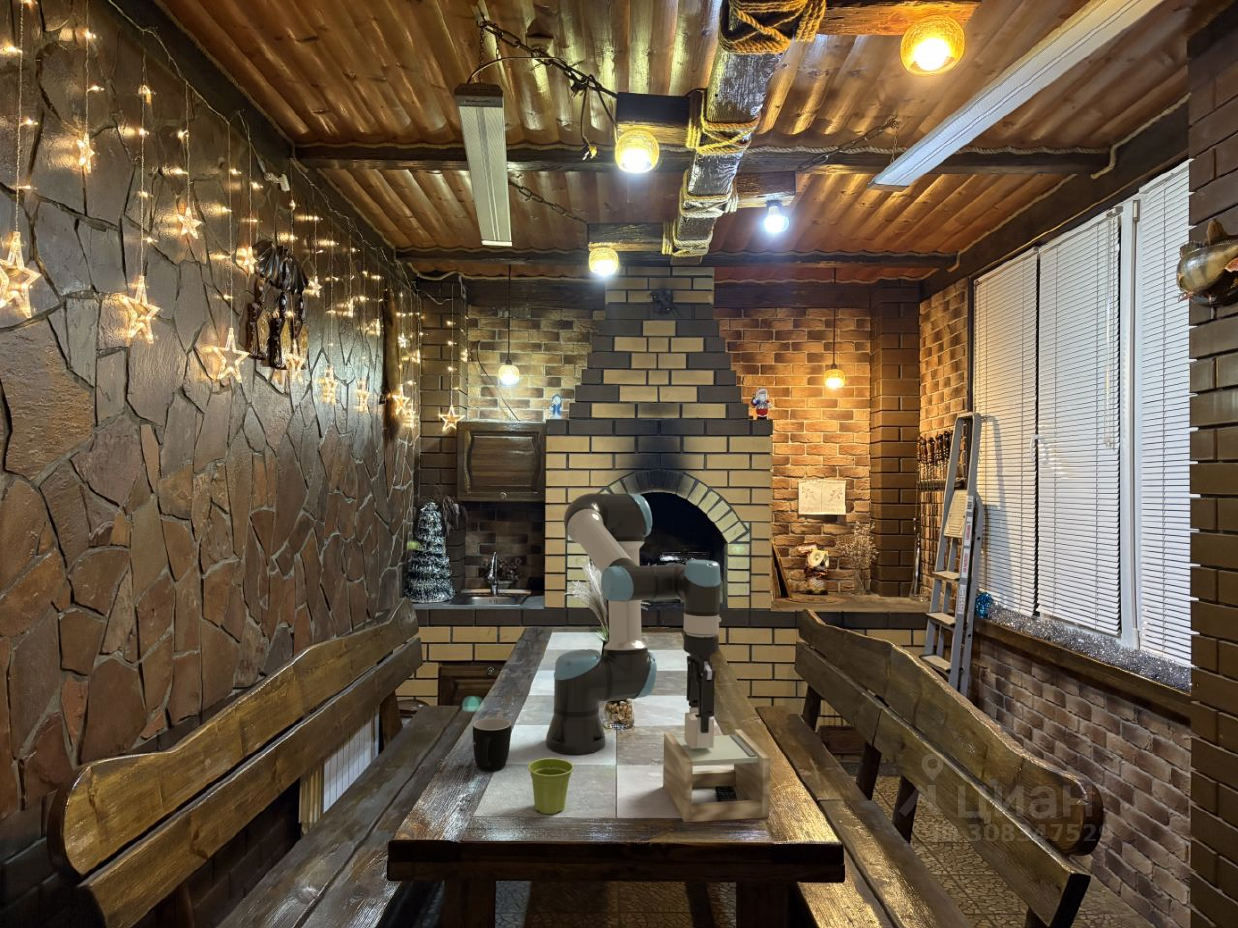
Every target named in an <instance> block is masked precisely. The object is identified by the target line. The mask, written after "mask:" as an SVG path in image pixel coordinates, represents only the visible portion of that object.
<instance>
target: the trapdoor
mask: <svg viewBox="0 0 1238 928" xmlns="http://www.w3.org/2000/svg"><path fill="white" fill-rule="evenodd" d="M675 739H676V740H677V741H678V743H679V744H680V746H681V747H682V748H683V750H684V751H685V752H686V754H687V755H688V756H689V758H690V759H691V760H692V762H693V767H697V766H716V765H717V766H718V765H719V766H720V765H732V764H733V765H734V764H737V763H755V762H757V761H758V757H757V756H756V755H755V754H754V753H753V752H752V751H751V750H750V749H749V748H748V747H747V746H746V745H745V744H744V743H743V742H742V741H741V740H740V739H739V738H738V737H737V736H736V735H735V733H734V734H728V735H725V734H724V735H714V748H697V749H690V747H689V746H688V745H687V743H686V742H685V741H684V736H683V737H675Z"/></svg>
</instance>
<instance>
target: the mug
mask: <svg viewBox="0 0 1238 928" xmlns="http://www.w3.org/2000/svg"><path fill="white" fill-rule="evenodd" d="M511 736H512V722H511V721H510V720H509V719H505V718H501V717H487V718H482V719H481V718H480V719H478V720H476V721H474V722H473V724H472V744H473V745H472V746H473V756H474V761H475V765H476V767H477V769H478V770H480V771H482V772H491V773H492V772H497V771H501V770H502V769H504V768H505V767H506V764H507V762H508V758H509V753H510V747H511V746H510V745H511V739H512V738H511Z"/></svg>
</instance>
